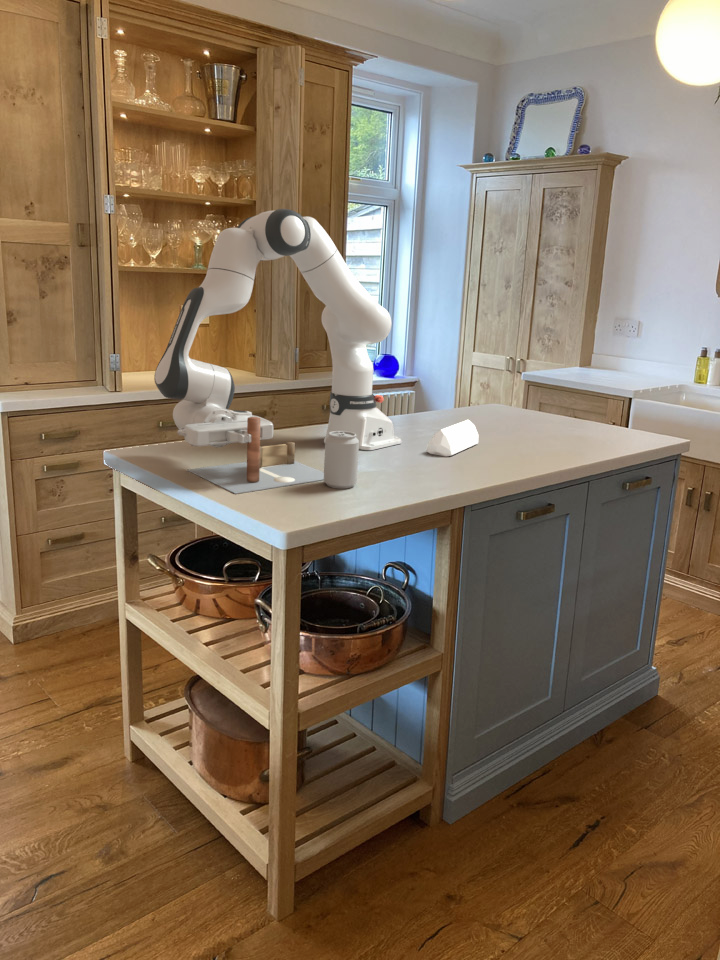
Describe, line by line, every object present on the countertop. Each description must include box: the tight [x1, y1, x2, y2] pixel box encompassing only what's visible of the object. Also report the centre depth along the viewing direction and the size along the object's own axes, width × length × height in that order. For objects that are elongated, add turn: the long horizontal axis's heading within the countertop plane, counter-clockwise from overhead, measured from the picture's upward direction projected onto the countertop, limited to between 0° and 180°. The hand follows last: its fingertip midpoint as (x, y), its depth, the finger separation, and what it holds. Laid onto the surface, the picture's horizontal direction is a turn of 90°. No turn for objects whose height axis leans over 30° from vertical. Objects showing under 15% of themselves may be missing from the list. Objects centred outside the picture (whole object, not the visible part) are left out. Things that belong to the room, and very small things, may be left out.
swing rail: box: [246, 416, 261, 482], centre depth 175 cm, size 12×3×14 cm, turn 4°
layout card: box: [186, 460, 324, 495], centre depth 179 cm, size 27×22×1 cm
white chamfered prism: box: [425, 419, 480, 457], centre depth 215 cm, size 7×7×24 cm
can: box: [323, 431, 360, 490], centre depth 172 cm, size 8×8×12 cm
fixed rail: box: [260, 441, 296, 468], centre depth 186 cm, size 12×2×5 cm, turn 129°
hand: (247, 439), depth 166 cm, fingers closed
